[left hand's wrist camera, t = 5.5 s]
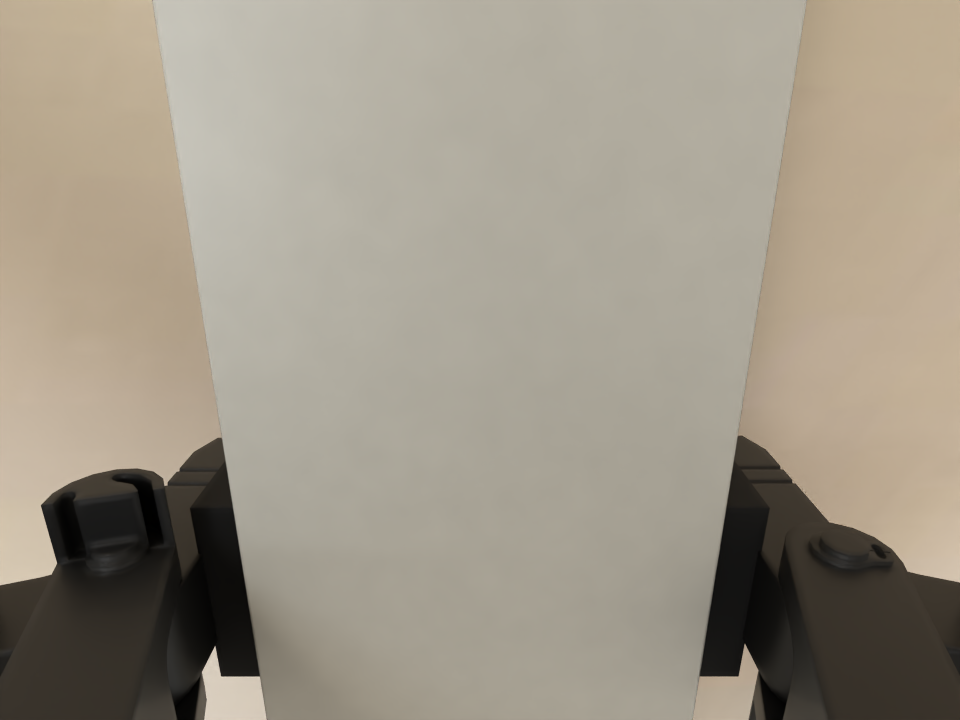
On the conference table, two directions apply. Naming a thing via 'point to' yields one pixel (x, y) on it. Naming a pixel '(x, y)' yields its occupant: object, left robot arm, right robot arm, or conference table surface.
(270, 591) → the beam
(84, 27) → the conference table surface
